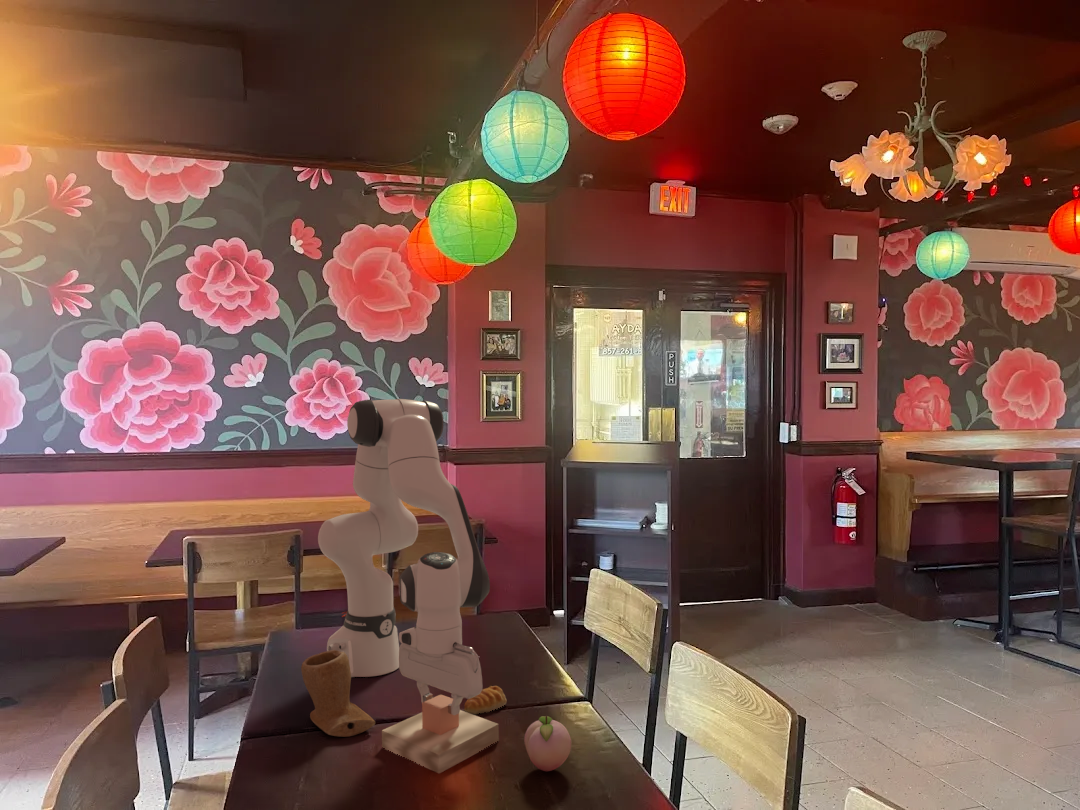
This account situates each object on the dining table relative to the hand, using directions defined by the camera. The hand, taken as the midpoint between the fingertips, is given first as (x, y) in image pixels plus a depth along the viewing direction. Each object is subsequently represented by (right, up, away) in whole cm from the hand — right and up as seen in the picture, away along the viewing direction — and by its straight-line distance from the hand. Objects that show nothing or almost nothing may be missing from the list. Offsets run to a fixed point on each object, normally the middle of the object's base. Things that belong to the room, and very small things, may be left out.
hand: (440, 708), depth 150 cm
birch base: (0, -8, 0) cm, 8 cm away
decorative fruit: (+21, -7, -11) cm, 25 cm away
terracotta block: (0, -4, 0) cm, 4 cm away
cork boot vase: (-23, -7, +9) cm, 25 cm away
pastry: (+8, -7, +18) cm, 20 cm away
